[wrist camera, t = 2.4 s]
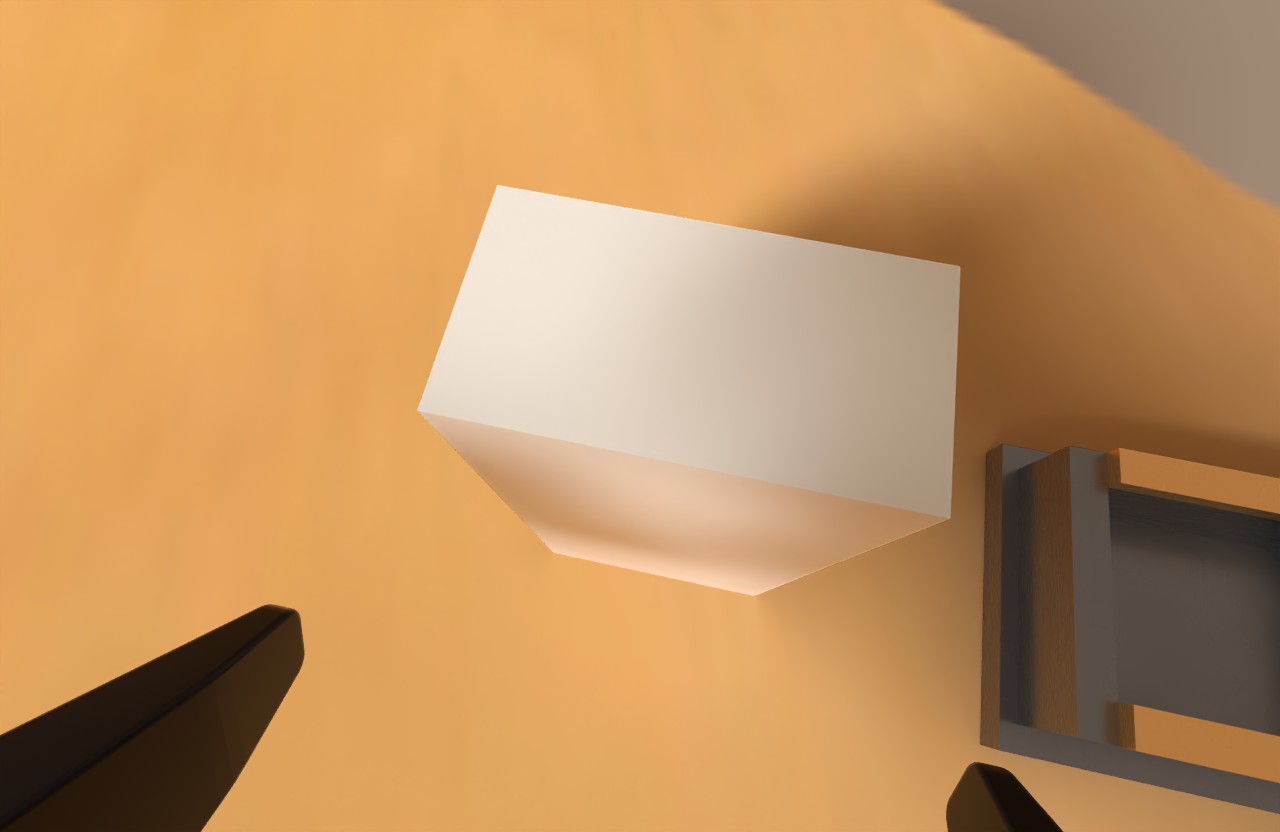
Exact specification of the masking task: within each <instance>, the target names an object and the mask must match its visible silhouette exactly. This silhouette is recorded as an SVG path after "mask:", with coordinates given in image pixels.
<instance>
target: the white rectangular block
mask: <svg viewBox="0 0 1280 832" xmlns="http://www.w3.org/2000/svg"><path fill="white" fill-rule="evenodd" d="M960 270H961V266H957V265H951V264H945V263H939V262H934V261H928V260H922V259H917V258H911V257H905V256H899V255H894V254H888V253H882V252H877V251H871V250H865V249H859V248H854V247H848V246H842V245H837V244H831V243H825V242H819V241H814V240H808V239H802V238H797V237H791V236H785V235H780V234H774V233H768V232H762V231H757V230H751V229H745V228H740V227H734V226H728V225H722V224H717V223H711V222H705V221H700V220H694V219H688V218H682V217H677V216H671V215H665V214H660V213H654V212H648V211H643V210H637V209H631V208H625V207H620V206H614V205H608V204H603V203H597V202H591V201H585V200H580V199H574V198H568V197H563V196H557V195H551V194H545V193H540V192H534V191H528V190H523V189H517V188H511V187H505V186H500V185H497V187H496V190H495V193H494V196H493V199H492V201H491V204H490V207H489V210H488V213H487V215H486V218H485V221H484V224H483V227H482V230H481V232H480V235H479V238H478V241H477V244H476V246H475V249H474V252H473V255H472V258H471V261H470V263H469V266H468V269H467V272H466V275H465V277H464V280H463V283H462V286H461V289H460V291H459V294H458V297H457V300H456V303H455V306H454V308H453V311H452V314H451V317H450V320H449V322H448V325H447V328H446V331H445V334H444V336H443V339H442V342H441V345H440V348H439V351H438V353H437V356H436V359H435V362H434V365H433V367H432V370H431V373H430V376H429V379H428V382H427V384H426V387H425V390H424V393H423V396H422V398H421V401H420V404H419V407H418V410H417V411H418V412H419V413H420V414H421V415H422V416H423V417H424V418H425V419H426V420H427V421H428V423H429V424H430V425H431V426H432V427H433V428H434V429H435V430H436V431H437V432H438V433H439V434H440V435H441V436H442V437H443V438H444V439H445V440H446V441H447V442H448V443H449V444H450V445H451V446H452V448H453V449H454V450H455V451H456V452H457V453H458V454H459V455H460V456H461V457H462V458H463V459H464V460H465V461H466V462H467V463H468V464H469V465H470V466H471V467H472V468H473V469H474V470H475V471H476V473H477V474H478V475H479V476H480V477H481V478H482V479H483V480H484V481H485V482H486V483H487V484H488V485H489V486H490V487H491V488H492V489H493V490H494V491H495V492H496V493H497V494H498V495H499V497H500V498H501V499H502V500H503V501H504V502H505V503H506V504H507V505H508V506H509V507H510V508H511V509H512V510H513V511H514V512H515V513H516V514H517V515H518V516H519V517H520V518H521V519H522V520H523V522H524V523H525V524H526V525H527V526H528V527H529V528H530V529H531V530H532V531H533V532H534V533H535V534H536V535H537V536H538V537H539V538H540V539H541V540H542V541H543V542H544V543H545V544H546V545H547V547H548V548H549V549H550V550H551V551H552V552H553V553H558V554H562V555H567V556H572V557H576V558H581V559H585V560H590V561H595V562H599V563H604V564H609V565H613V566H618V567H622V568H627V569H632V570H636V571H641V572H646V573H650V574H655V575H660V576H664V577H669V578H673V579H678V580H683V581H687V582H692V583H697V584H701V585H706V586H711V587H715V588H720V589H724V590H729V591H734V592H738V593H743V594H748V595H752V596H756V595H758V594H761V593H764V592H766V591H769V590H771V589H774V588H776V587H779V586H781V585H784V584H786V583H789V582H791V581H794V580H797V579H799V578H802V577H804V576H807V575H809V574H812V573H814V572H817V571H819V570H822V569H825V568H827V567H830V566H832V565H835V564H837V563H840V562H842V561H845V560H847V559H850V558H852V557H855V556H858V555H860V554H863V553H865V552H868V551H870V550H873V549H875V548H878V547H880V546H883V545H886V544H888V543H891V542H893V541H896V540H898V539H901V538H903V537H906V536H908V535H911V534H913V533H916V532H919V531H921V530H924V529H926V528H929V527H931V526H934V525H936V524H939V523H941V522H944V521H947V520H949V519H951V497H952V472H953V447H954V422H955V396H956V371H957V346H958V321H959V295H960Z"/></svg>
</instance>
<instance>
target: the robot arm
mask: <svg viewBox="0 0 1280 832" xmlns="http://www.w3.org/2000/svg"><path fill="white" fill-rule="evenodd" d="M303 660H304V643H303V635H302V627H301V619H300V615H299V613H298V612H297V611H296V610H294V609H291V608H287V607H282V606H278V605H272V604H269V605H264V606H261V607H259V608H257V609H255V610H253V611H251V612H249V613H247V614H245V615H243V616H241V617H239V618H237V619H235V620H233V621H231V622H228V623H226V624H224V625H222V626H220V627H218V628H216V629H214V630H212V631H210V632H208V633H206V634H204V635H202V636H200V637H198V638H196V639H194V640H192V641H190V642H188V643H186V644H184V645H182V646H180V647H178V648H176V649H174V650H172V651H170V652H168V653H166V654H164V655H162V656H160V657H158V658H156V659H153V660H151V661H149V662H147V663H145V664H143V665H141V666H139V667H137V668H135V669H133V670H131V671H129V672H127V673H125V674H123V675H121V676H119V677H117V678H115V679H113V680H111V681H109V682H107V683H105V684H103V685H101V686H99V687H97V688H95V689H93V690H91V691H89V692H87V693H85V694H83V695H81V696H78V697H76V698H74V699H72V700H70V701H68V702H66V703H64V704H62V705H60V706H58V707H56V708H54V709H52V710H50V711H48V712H46V713H44V714H42V715H40V716H38V717H36V718H34V719H32V720H30V721H28V722H26V723H24V724H22V725H20V726H18V727H16V728H14V729H12V730H10V731H8V732H6V733H3V734H1V735H0V832H201V831H202V829H203V828H204V826H205V825H206V824H207V822H208V821H209V819H210V818H211V817H212V815H213V814H214V812H215V811H216V809H217V808H218V807H219V805H220V804H221V802H222V801H223V799H224V798H225V796H226V795H227V793H228V792H229V790H230V789H231V787H232V786H233V784H234V783H235V781H236V780H237V778H238V777H239V775H240V773H241V772H242V770H243V768H244V767H245V765H246V763H247V762H248V760H249V758H250V756H251V755H252V753H253V751H254V749H255V748H256V746H257V744H258V743H259V741H260V739H261V737H262V736H263V734H264V732H265V730H266V729H267V727H268V725H269V723H270V722H271V720H272V718H273V716H274V715H275V713H276V711H277V709H278V708H279V706H280V704H281V702H282V701H283V699H284V697H285V696H286V694H287V692H288V690H289V689H290V687H291V685H292V683H293V682H294V680H295V678H296V676H297V675H298V673H299V671H300V669H301V666H302V664H303ZM946 820H947V828H948V832H1063V831H1062V830H1061V828H1060V827H1059V826H1058V825H1057V824H1056V823H1055V822H1054V820H1053V819H1052V818H1051V817H1050V816H1049V815H1048V814H1047V813H1046V811H1045V810H1044V809H1043V808H1042V807H1041V806H1040V805H1039V803H1038V802H1037V801H1036V800H1035V799H1034V798H1033V797H1032V795H1031V794H1030V793H1029V792H1028V791H1027V790H1026V789H1025V787H1024V786H1023V785H1022V784H1021V783H1020V782H1019V781H1018V780H1017V778H1016V777H1015V776H1014V775H1013V774H1012V773H1011V772H1009V771H1008V770H1006V769H1004V768H1001V767H998V766H993V765H989V764H984V763H980V762H974V763H972V764H970V765H969V766H968V767H967V769H966V771H965V772H964V774H963V776H962V777H961V779H960V781H959V783H958V784H957V786H956V788H955V790H954V791H953V793H952V795H951V796H950V798H949V801H948V804H947V810H946Z"/></svg>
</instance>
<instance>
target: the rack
mask: <svg viewBox="0 0 1280 832" xmlns="http://www.w3.org/2000/svg"><path fill="white" fill-rule="evenodd" d="M980 745H984V746H987V747H990V748H994V749H997V750H1001V751H1005V752H1010V753H1014V754H1018V755H1023V756H1027V757H1032V758H1036V759H1040V760H1045V761H1049V762H1054V763H1058V764H1062V765H1067V766H1071V767H1076V768H1080V769H1084V770H1089V771H1093V772H1098V773H1102V774H1107V775H1111V776H1115V777H1120V778H1124V779H1129V780H1133V781H1137V782H1142V783H1146V784H1151V785H1155V786H1159V787H1164V788H1168V789H1173V790H1177V791H1181V792H1186V793H1190V794H1195V795H1199V796H1204V797H1208V798H1212V799H1217V800H1221V801H1226V802H1230V803H1234V804H1239V805H1243V806H1248V807H1252V808H1256V809H1261V810H1265V811H1270V812H1274V813H1279V814H1280V478H1275V477H1270V476H1264V475H1259V474H1254V473H1249V472H1244V471H1238V470H1233V469H1228V468H1223V467H1218V466H1212V465H1207V464H1202V463H1197V462H1191V461H1186V460H1181V459H1176V458H1171V457H1165V456H1160V455H1155V454H1150V453H1144V452H1139V451H1134V450H1129V449H1124V448H1117V449H1115V450H1112V451H1110V452H1107V453H1104V452H1099V451H1094V450H1089V449H1083V448H1078V447H1073V446H1068V447H1066V448H1064V449H1062V450H1059V451H1057V452H1055V453H1053V454H1052V453H1047V452H1042V451H1037V450H1031V449H1026V448H1021V447H1016V446H1011V445H1006V444H1002V445H1000V446H998V447H996V448H994V449H992V450H991V451H989V452H987V453H986V497H985V545H984V593H983V640H982V688H981V736H980Z"/></svg>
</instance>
